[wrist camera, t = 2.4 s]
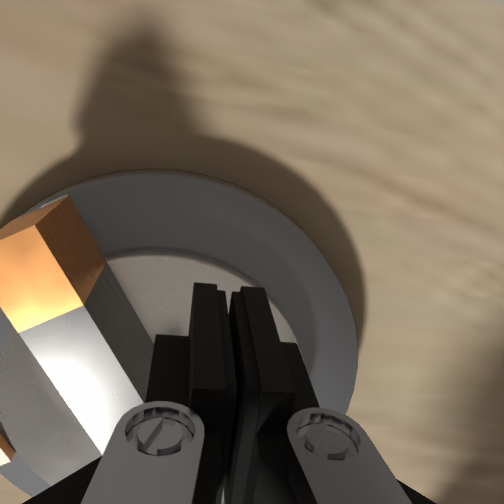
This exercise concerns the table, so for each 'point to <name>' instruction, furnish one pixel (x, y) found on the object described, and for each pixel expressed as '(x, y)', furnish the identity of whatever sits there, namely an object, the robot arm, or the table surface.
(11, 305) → the dial
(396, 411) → the table surface
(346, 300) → the dial base
